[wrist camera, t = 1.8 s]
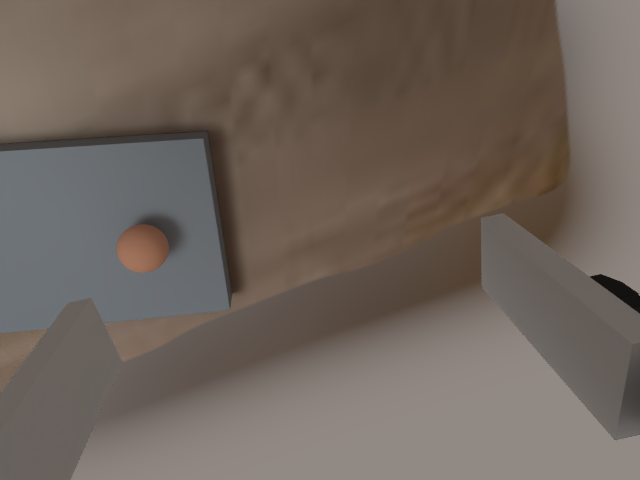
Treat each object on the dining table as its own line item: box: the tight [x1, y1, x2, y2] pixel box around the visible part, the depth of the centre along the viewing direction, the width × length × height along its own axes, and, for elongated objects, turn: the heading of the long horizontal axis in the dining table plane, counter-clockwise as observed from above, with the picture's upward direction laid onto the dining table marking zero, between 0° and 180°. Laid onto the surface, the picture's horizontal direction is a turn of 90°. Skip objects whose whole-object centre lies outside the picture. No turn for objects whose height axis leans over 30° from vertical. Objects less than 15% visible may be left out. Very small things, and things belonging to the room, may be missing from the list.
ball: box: [116, 224, 169, 273], centre depth 30 cm, size 3×3×3 cm
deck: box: [0, 131, 232, 333], centre depth 32 cm, size 25×14×2 cm, turn 92°
